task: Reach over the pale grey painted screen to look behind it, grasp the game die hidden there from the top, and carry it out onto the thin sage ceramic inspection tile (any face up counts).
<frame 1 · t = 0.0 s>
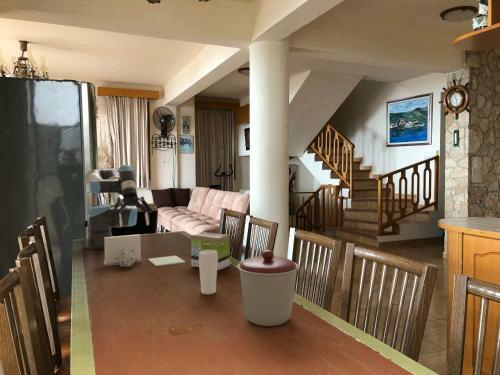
hand: (134, 225, 204), 15 cm above the table, tool tilted 35°, fingers open, 13 cm apart
screen: (123, 263, 186), on the table
tea box: (210, 266, 180), on the table
drinking glass: (208, 293, 143), on the table
canister: (268, 320, 118), on the table
tile: (166, 261, 190), on the table
game die: (126, 267, 179), on the table
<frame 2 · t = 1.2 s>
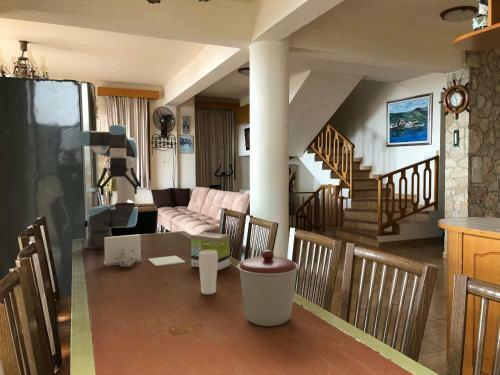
hand: (119, 201, 190), 29 cm above the table, tool pointing down, fingers open, 13 cm apart
nothing on the table moved.
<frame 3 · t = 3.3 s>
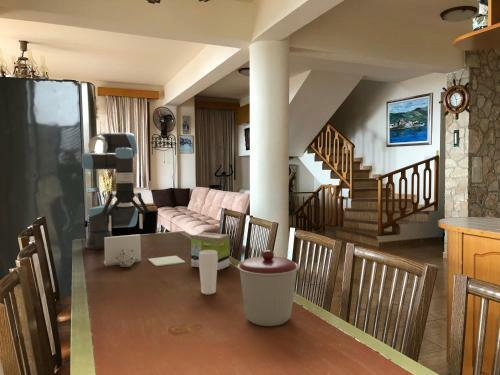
hand: (125, 229, 178), 17 cm above the table, tool pointing down, fingers open, 13 cm apart
nothing on the table moved.
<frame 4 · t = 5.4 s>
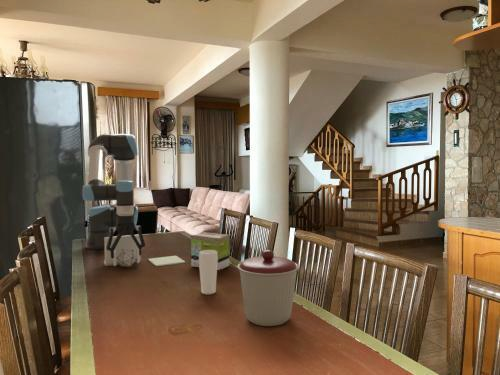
hand: (126, 263, 179), 2 cm above the table, tool pointing down, fingers closed on game die, 9 cm apart
game die: (126, 267, 179), on the table, touching gripper
everything else where it was.
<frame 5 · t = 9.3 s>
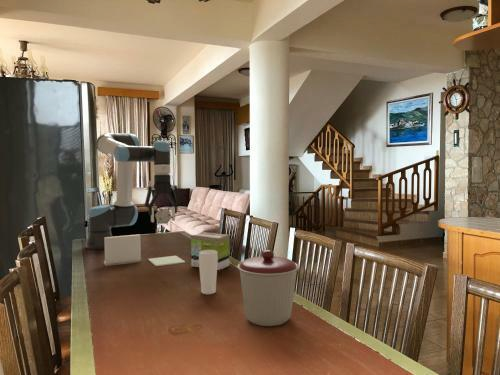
hand: (163, 221, 188), 20 cm above the table, tool pointing down, fingers closed on game die, 9 cm apart
game die: (163, 224, 188), point 18 cm above the table, touching gripper
everything else where it was.
when the fingers open (3 cm above the table, at t = 13.2 s): game die stays where it is, resting on tile.
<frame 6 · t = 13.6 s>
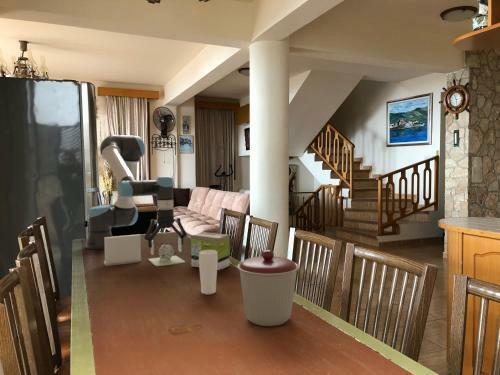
hand: (166, 252, 189), 4 cm above the table, tool pointing down, fingers open, 13 cm apart
game die: (166, 260, 190), resting on tile
everything else where it was.
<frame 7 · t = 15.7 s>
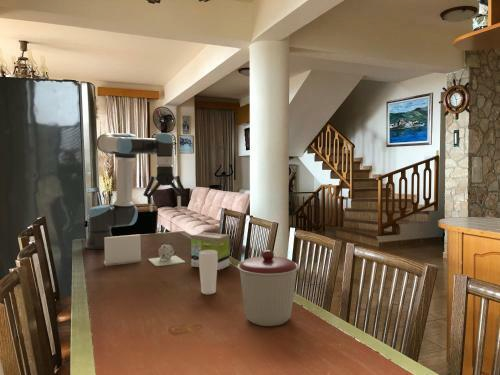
hand: (165, 210, 188), 25 cm above the table, tool pointing down, fingers open, 13 cm apart
nothing on the table moved.
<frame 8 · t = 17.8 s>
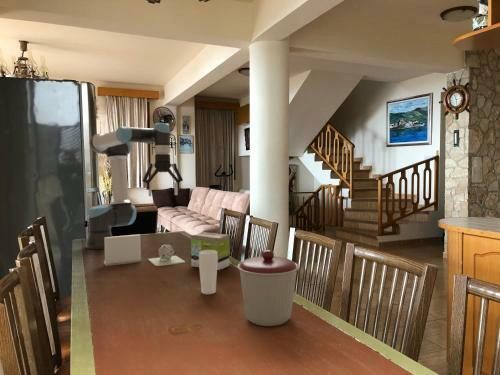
hand: (163, 195, 202), 31 cm above the table, tool pointing down, fingers open, 13 cm apart
nothing on the table moved.
at the end: game die inside the target area on the tile (0.1 cm from its centre), point 0.4 cm above the tile's base; game die touching tile; the gripper is holding nothing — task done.
